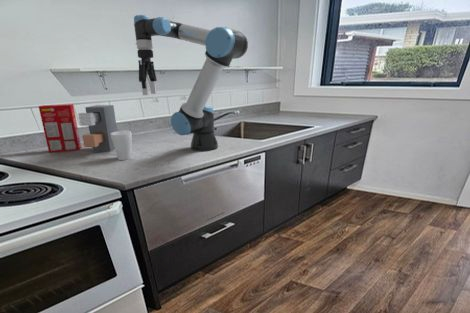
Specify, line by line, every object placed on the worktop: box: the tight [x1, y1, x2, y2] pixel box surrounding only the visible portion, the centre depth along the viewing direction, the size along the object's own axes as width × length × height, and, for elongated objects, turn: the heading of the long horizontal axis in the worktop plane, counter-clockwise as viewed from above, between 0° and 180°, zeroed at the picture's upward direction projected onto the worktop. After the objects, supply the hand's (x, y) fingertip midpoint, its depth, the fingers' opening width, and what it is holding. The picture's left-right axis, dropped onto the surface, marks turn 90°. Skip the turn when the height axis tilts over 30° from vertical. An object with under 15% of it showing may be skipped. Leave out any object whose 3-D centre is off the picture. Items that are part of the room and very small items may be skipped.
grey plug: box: [78, 112, 101, 127], centre depth 138 cm, size 13×6×6 cm, turn 175°
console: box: [84, 104, 118, 153], centre depth 147 cm, size 10×10×24 cm
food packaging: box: [38, 103, 82, 154], centre depth 147 cm, size 15×5×25 cm, turn 106°
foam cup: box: [110, 130, 133, 161], centre depth 131 cm, size 10×9×13 cm
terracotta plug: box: [81, 133, 104, 148], centre depth 141 cm, size 13×6×6 cm, turn 175°
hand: (149, 94), depth 142 cm, fingers open, 10 cm apart
